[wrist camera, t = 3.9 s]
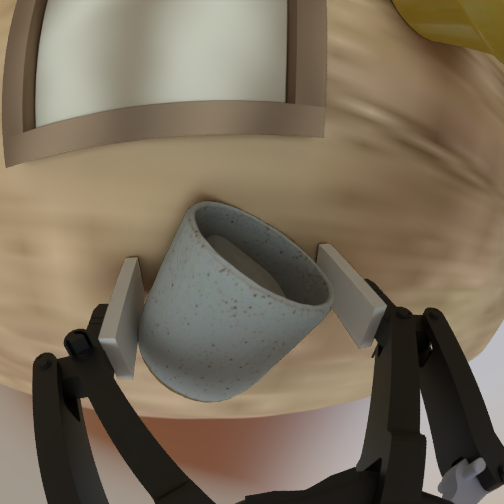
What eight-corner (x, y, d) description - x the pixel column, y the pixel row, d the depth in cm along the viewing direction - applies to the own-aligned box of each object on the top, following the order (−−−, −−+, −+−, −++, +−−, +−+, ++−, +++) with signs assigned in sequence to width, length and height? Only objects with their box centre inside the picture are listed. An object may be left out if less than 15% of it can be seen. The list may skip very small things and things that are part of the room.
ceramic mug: (137, 300, 16) (123, 403, 10) (189, 183, 14) (191, 255, 7) (273, 340, 21) (305, 424, 14) (336, 255, 18) (403, 332, 11)
